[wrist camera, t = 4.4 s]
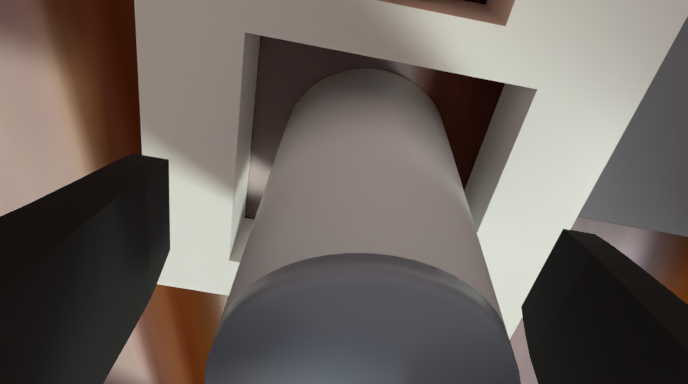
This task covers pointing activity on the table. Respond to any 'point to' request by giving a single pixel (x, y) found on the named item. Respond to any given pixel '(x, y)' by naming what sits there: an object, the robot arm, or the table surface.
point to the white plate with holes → (415, 49)
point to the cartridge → (363, 253)
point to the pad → (651, 156)
